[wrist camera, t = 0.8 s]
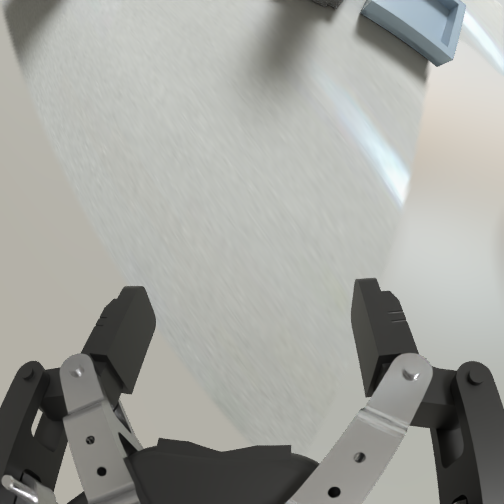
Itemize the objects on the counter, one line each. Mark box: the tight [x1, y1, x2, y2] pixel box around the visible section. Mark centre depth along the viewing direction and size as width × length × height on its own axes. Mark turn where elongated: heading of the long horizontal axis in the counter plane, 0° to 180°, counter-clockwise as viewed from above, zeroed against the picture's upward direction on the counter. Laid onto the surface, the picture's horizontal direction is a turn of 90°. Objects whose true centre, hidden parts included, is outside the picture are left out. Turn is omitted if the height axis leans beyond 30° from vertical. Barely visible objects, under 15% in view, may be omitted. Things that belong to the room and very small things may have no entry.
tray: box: [360, 0, 466, 67], centre depth 23 cm, size 10×10×3 cm
